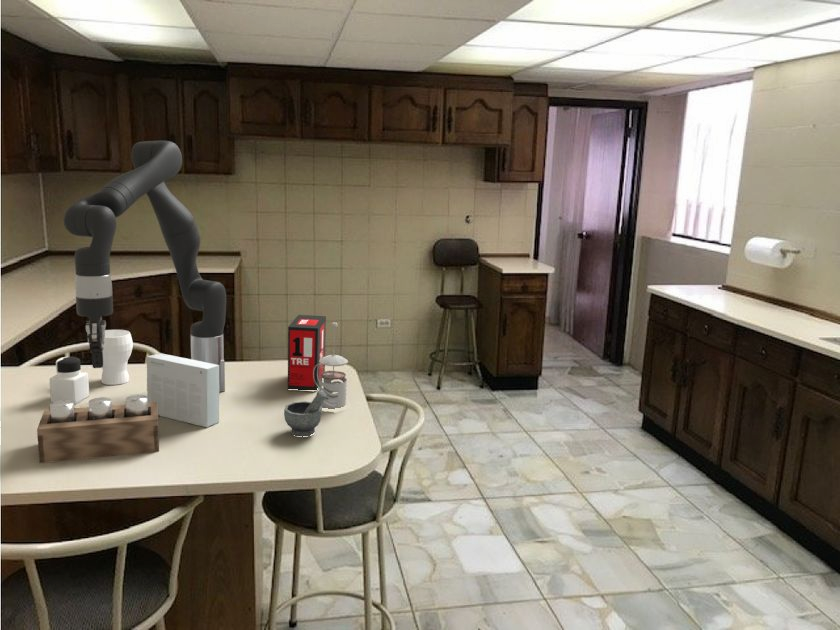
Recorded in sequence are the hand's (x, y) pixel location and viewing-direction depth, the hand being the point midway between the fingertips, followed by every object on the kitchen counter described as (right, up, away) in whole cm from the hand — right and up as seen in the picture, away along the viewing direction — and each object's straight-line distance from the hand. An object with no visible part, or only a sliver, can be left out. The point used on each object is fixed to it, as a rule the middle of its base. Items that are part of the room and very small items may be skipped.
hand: (98, 366), depth 158 cm
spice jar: (-1, -13, +3) cm, 13 cm away
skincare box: (+11, -16, +25) cm, 31 cm away
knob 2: (+7, -13, +6) cm, 16 cm away
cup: (-18, -8, +50) cm, 54 cm away
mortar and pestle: (+45, -19, +18) cm, 52 cm away
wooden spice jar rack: (-1, -19, +4) cm, 20 cm away
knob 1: (-8, -13, 0) cm, 16 cm away
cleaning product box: (+39, -10, +58) cm, 70 cm away
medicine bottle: (-23, -12, +33) cm, 42 cm away
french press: (+49, -14, +39) cm, 64 cm away
